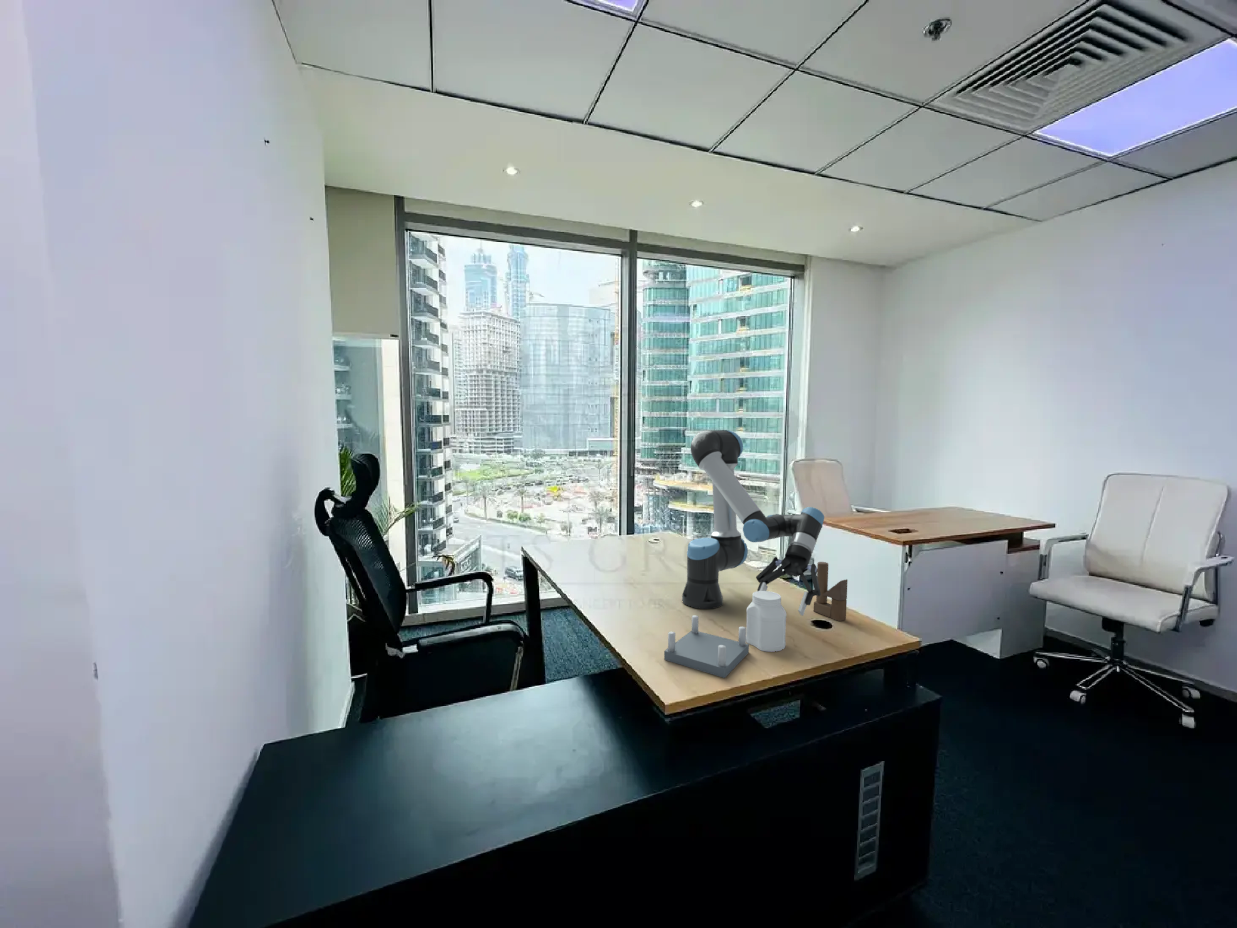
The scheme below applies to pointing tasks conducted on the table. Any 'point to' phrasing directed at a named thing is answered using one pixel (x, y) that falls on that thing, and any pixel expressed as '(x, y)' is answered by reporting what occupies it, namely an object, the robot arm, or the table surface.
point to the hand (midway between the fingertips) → (778, 607)
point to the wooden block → (830, 595)
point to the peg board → (707, 651)
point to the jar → (766, 622)
